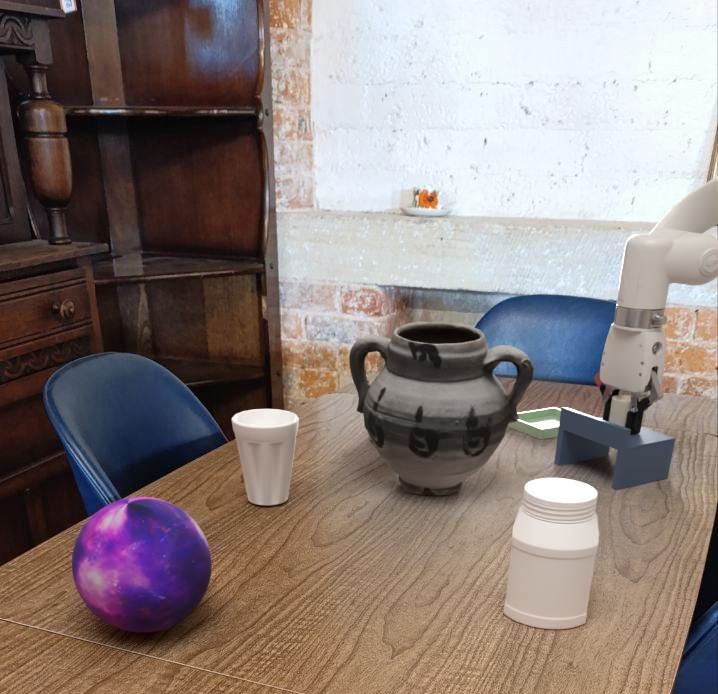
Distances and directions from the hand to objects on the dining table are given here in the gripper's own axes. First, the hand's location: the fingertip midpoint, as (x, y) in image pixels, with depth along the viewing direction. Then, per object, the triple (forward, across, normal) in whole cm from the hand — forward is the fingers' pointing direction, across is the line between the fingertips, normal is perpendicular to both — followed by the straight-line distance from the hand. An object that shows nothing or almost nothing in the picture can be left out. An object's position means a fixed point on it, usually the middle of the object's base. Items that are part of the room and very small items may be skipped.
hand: (620, 428), depth 148 cm
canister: (0, 0, 0) cm, 0 cm away
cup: (+7, +15, +59) cm, 61 cm away
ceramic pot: (+7, +8, +33) cm, 35 cm away
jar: (+7, -33, +45) cm, 56 cm away
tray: (+7, +25, -7) cm, 27 cm away
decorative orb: (+7, -14, +88) cm, 89 cm away
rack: (+7, 0, +1) cm, 7 cm away
